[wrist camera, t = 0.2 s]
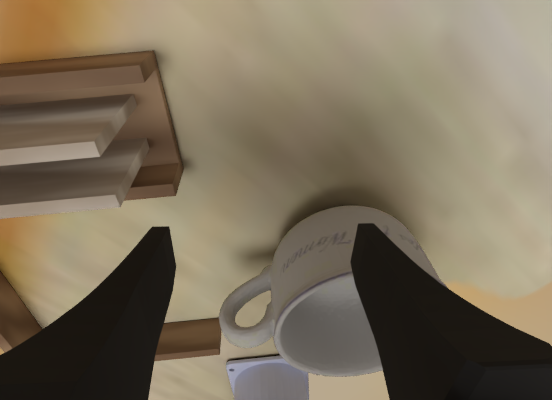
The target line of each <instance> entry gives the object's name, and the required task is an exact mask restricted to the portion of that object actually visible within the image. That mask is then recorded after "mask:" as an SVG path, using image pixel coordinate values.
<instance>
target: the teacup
mask: <svg viewBox="0 0 552 400" xmlns="http://www.w3.org/2000/svg"><path fill="white" fill-rule="evenodd" d="M358 223H374V224H375V225H376V226H377V227H378V228H379V229H380V230H381V231H382V232H383V233H384V234H385V235H386V236H387V237H388V238H389V239H390V240H391V241H392V242H393V243H394V244H395V245H396V246H398V247H399V248H400V249H401V250H402V251H403V252H404V253H405V254H406V255H407V256H408V257H409V258H410V259H412V260H413V261H414V262H415V263H416V264H417V265H418V266H420V267H421V268H422V269H423V270H424V271H426V272H427V273H428V274H429V275H431V276H432V277H433V278H434V279H436V280H437V281H438V282H440V283H441V284H442V285H444V286H445V287H447V286H446V285H445V284H444V283H443V282H442V281H441V280H440V278H439V277H438V275H437V273H436V271H435V270H434V268H433V266H432V264H431V263H430V261H429V259H428V258H427V256H426V254H425V253H424V251H423V250H422V248H421V246H420V245H419V243H418V242H417V241H416V239H415V238H414V236H413V235H412V234H411V233H410V231H409V230H408V229H407V228H406V227H405V226H404V225H403V224H402V223H401V222H400V221H399V220H397V219H396V218H394V217H393V216H391V215H390V214H388V213H386V212H383V211H381V210H378V209H375V208H371V207H366V206H339V207H334V208H329V209H326V210H323V211H320V212H317V213H315V214H313V215H311V216H309V217H307V218H305V219H303V220H302V221H300V222H299V223H298V224H296V225H295V226H294V227H293V228H292V229H291V230H290V231H289V232H288V233H287V234H286V235H285V236H284V237H283V239H282V240H281V242H280V244H279V245H278V247H277V249H276V252H275V254H274V258H273V262H272V265H269V266H267V267H265V268H264V270H263V271H262V272H261V274H260V275H258V276H256V277H254V278H252V279H251V280H249V281H247V282H246V283H244V284H242V285H241V286H239V287H238V288H237V289H235V290H234V291H233V292H232V293H231V294H230V295H229V296H228V297H227V298H226V299H225V301H224V302H223V304H222V307H221V309H220V314H219V322H220V327H221V330H222V332H223V334H224V336H225V337H226V339H227V340H228V341H229V342H230V343H232V344H233V345H235V346H237V347H241V348H252V347H256V346H259V345H261V344H263V343H264V342H266V341H268V340H269V339H270V338H271V337H272V336H274V337H273V339H274V343H275V347H276V349H277V351H278V353H279V354H280V355H281V356H282V357H283V359H284V360H285V361H286V362H287V363H288V364H290V365H291V366H293V367H295V368H297V369H299V370H301V371H305V372H309V373H312V374H316V375H323V376H357V375H363V374H369V373H374V372H378V371H382V370H383V368H382V364H381V360H380V356H379V352H378V348H377V345H376V342H375V339H374V335H373V333H372V330H371V327H370V325H369V322H368V319H367V316H366V314H365V311H364V308H363V305H362V303H361V300H360V297H359V294H358V291H357V289H356V286H355V282H354V277H353V273H352V268H351V263H350V261H351V256H352V251H353V246H354V241H355V236H356V231H357V227H358ZM268 290H271V298H272V300H271V302H270V303H269V304H268V305H267V309H266V313H265V315H264V317H263V319H262V320H261V321H260V322H259V323H258V324H256V325H254V326H252V327H240V326H238V325H237V324H236V323H235V316H236V314H237V312H238V311H239V310H240V309H241V308H242V307H243V306H244V304H245V303H247V302H248V301H250V300H251V299H252V298H254V297H256V296H257V295H259V294H261V293H263V292H266V291H268Z"/></svg>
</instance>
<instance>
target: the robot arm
mask: <svg viewBox="0 0 552 400" xmlns="http://www.w3.org/2000/svg"><path fill="white" fill-rule="evenodd" d="M350 263H351V268H352V273H353V277H354V282H355V286H356V289H357V291H358V294H359V297H360V300H361V303H362V305H363V308H364V311H365V314H366V316H367V319H368V322H369V325H370V327H371V330H372V333H373V335H374V339H375V342H376V345H377V348H378V352H379V356H380V360H381V364H382V368H383V372H384V376H385V380H386V385H387V390H388V394H389V398H390V400H552V346H551V345H550V344H549V343H547V342H545V341H542V340H540V339H538V338H535V337H534V336H531V335H529V334H527V333H525V332H523V331H520V330H518V329H516V328H514V327H512V326H510V325H508V324H506V323H504V322H503V321H501V320H499V319H496V318H495V317H493V316H491V315H489V314H488V313H486V312H484V311H482V310H481V309H479V308H477V307H475V306H474V305H472V304H471V303H469V302H468V301H466V300H464V299H463V298H461V297H460V296H458V295H457V294H455V293H454V292H452V291H451V290H449V289H448V288H447V287H445V286H444V285H442V284H441V283H440V282H438V281H437V280H436V279H434V278H433V277H432V276H431V275H429V274H428V273H427V272H426V271H424V270H423V269H422V268H421V267H420V266H418V265H417V264H416V263H415V262H414V261H413V260H412V259H410V258H409V257H408V256H407V255H406V254H405V253H404V252H403V251H402V250H401V249H400V248H399V247H398V246H396V245H395V244H394V243H393V242H392V241H391V240H390V239H389V238H388V237H387V236H386V235H385V234H384V233H383V232H382V231H381V230H380V229H379V228H378V227H377V226H376V225H375V224H374V223H358V227H357V231H356V236H355V241H354V246H353V251H352V256H351V261H350ZM175 270H176V263H175V257H174V252H173V246H172V240H171V235H170V229H169V227H152V228H151V229H150V230H149V231H148V232H147V233H146V235H145V236H144V237H143V238H142V239H141V241H140V242H139V243H138V244H137V245H136V247H135V248H134V249H133V250H132V251H131V252H130V253H129V255H128V256H127V257H126V258H125V259H124V260H123V261H122V262H121V263H120V265H119V266H118V267H117V268H116V269H115V270H114V271H113V272H112V273H111V274H110V275H109V276H108V277H107V278H106V279H105V280H104V281H103V282H102V283H101V284H100V285H99V286H98V287H97V288H95V289H94V290H93V291H92V292H91V293H90V294H89V295H88V296H86V297H85V298H84V299H83V300H82V301H81V302H79V303H78V304H77V305H76V306H74V307H73V308H72V309H70V310H69V311H68V312H66V313H65V314H64V315H62V316H61V317H60V318H58V319H57V320H56V321H54V322H53V323H51V324H50V325H49V326H47V327H46V328H44V329H43V330H41V331H40V332H38V333H37V334H35V335H34V336H32V337H30V338H29V339H27V340H26V341H24V342H22V343H21V344H19V345H17V346H16V347H14V348H12V349H11V350H9V351H7V352H5V353H4V354H2V355H0V400H148V396H149V390H150V383H151V377H152V371H153V365H154V360H155V354H156V350H157V346H158V342H159V338H160V335H161V331H162V328H163V324H164V320H165V317H166V313H167V310H168V306H169V302H170V299H171V295H172V291H173V285H174V278H175ZM226 369H227V373H228V377H229V380H230V384H231V388H232V392H233V395H234V400H309V385H308V372H305V371H301V370H299V369H297V368H295V367H293V366H291V365H290V364H288V363H287V362H286V361H285V360H284V359H283V357H282V356H272V357H262V358H252V359H242V360H233V361H228V362H227V363H226Z"/></svg>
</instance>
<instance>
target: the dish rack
mask: <svg viewBox="0 0 552 400" xmlns="http://www.w3.org/2000/svg"><path fill="white" fill-rule="evenodd" d="M182 173H183V166H182V162H181V158H180V154H179V150H178V146H177V142H176V138H175V134H174V130H173V126H172V122H171V118H170V114H169V110H168V106H167V102H166V98H165V94H164V90H163V86H162V82H161V78H160V74H159V70H158V66H157V61H156V57H155V53H154V51H143V52H132V53H120V54H109V55H98V56H86V57H75V58H64V59H52V60H41V61H30V62H18V63H7V64H0V219H3V218H13V217H24V216H34V215H45V214H56V213H66V212H77V211H87V210H98V209H108V208H119V207H121V205H122V203H123V201H125V200H136V199H146V198H157V197H167V196H176V193H177V190H178V186H179V183H180V180H181V176H182ZM41 330H42V328H41V327H40V326H39V324H38V323H37V321H36V320H35V319H34V317H33V316H32V315H31V313H30V312H29V310H28V309H27V308H26V306H25V305H24V303H23V302H22V301H21V299H20V298H19V296H18V295H17V294H16V292H15V291H14V290H13V288H12V287H11V285H10V284H9V283H8V281H7V280H6V278H5V277H4V276H3V274H2V273H1V271H0V348H1V349H2V350H3V351H4V352H7V351H9V350H11V349H12V348H14V347H16V346H17V345H19V344H21V343H22V342H24V341H26V340H27V339H29V338H30V337H32V336H34V335H35V334H37V333H38V332H40V331H41ZM220 343H221V327H220V322H219V318H214V319H204V320H194V321H184V322H174V323H164V324H163V328H162V331H161V335H160V338H159V342H158V346H157V350H156V354H155V360H154V361H161V360H171V359H181V358H190V357H200V356H210V355H220Z"/></svg>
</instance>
